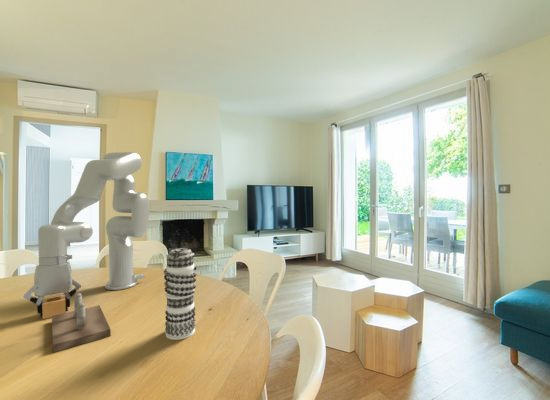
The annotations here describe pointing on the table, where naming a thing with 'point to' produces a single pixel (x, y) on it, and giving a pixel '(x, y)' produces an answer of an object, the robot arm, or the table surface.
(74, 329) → the post board
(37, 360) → the table surface
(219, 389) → the table surface
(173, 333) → the decorative candle
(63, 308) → the collar
